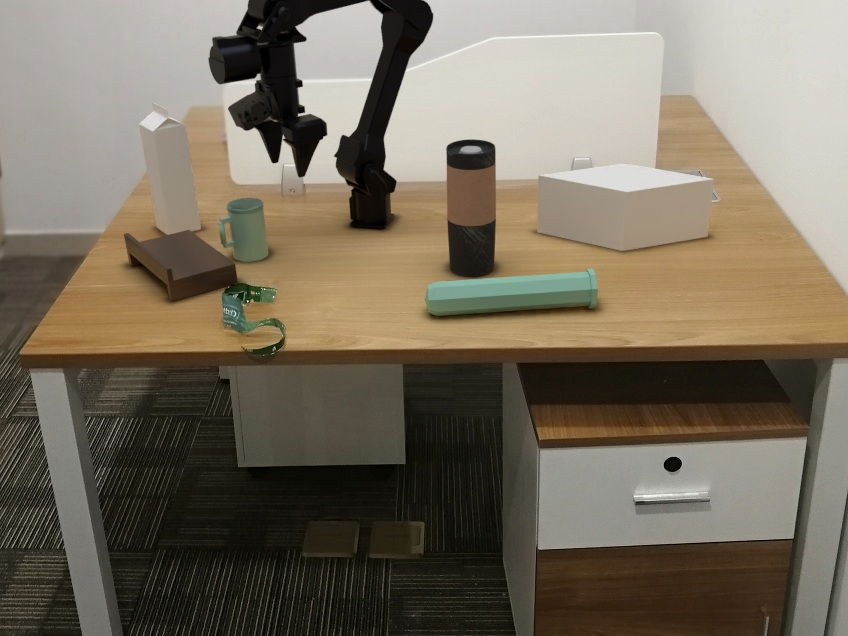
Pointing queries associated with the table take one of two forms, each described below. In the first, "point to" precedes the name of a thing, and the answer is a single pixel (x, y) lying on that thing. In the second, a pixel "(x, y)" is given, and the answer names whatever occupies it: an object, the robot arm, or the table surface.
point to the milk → (169, 172)
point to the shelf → (182, 263)
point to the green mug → (245, 229)
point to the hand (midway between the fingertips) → (288, 169)
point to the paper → (624, 206)
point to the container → (512, 293)
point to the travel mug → (471, 206)
